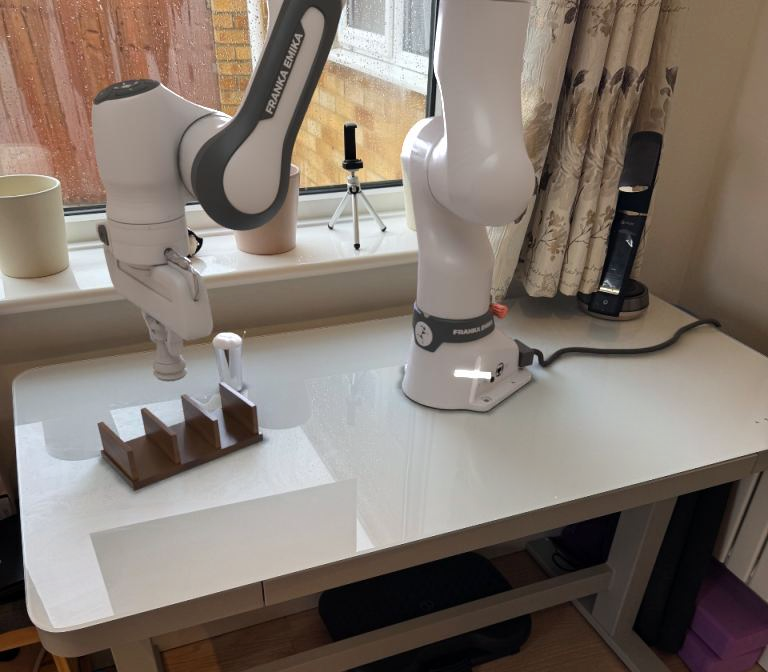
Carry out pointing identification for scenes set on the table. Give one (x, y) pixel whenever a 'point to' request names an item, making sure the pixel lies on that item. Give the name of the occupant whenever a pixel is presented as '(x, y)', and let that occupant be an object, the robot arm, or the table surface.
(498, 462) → the table surface
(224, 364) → the milkshake
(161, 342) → the rook chess piece
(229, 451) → the plate rack
